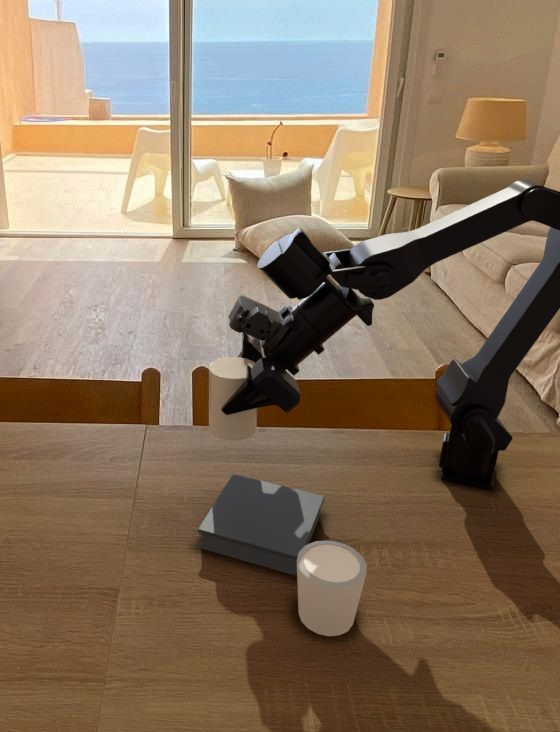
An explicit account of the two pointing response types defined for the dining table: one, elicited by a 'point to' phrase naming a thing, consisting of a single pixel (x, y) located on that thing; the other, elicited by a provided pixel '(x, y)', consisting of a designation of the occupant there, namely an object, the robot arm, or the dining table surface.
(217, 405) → the cream pillar candle
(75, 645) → the dining table surface
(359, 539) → the dining table surface
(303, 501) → the storage box
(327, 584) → the shot glass
